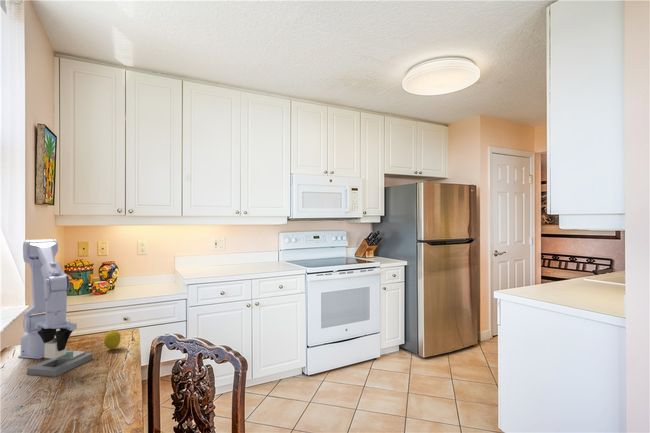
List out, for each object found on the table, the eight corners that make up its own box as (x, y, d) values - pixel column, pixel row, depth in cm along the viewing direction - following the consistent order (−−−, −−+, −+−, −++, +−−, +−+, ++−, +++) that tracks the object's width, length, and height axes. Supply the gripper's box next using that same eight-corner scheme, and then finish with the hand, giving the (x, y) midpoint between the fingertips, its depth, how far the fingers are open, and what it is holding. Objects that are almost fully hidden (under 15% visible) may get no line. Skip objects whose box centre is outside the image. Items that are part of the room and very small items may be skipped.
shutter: (56, 358, 123) (56, 351, 123) (71, 352, 129) (71, 345, 129) (71, 359, 122) (71, 352, 122) (85, 353, 128) (85, 346, 128)
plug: (55, 353, 121) (55, 336, 121) (66, 353, 121) (66, 336, 121) (44, 357, 117) (44, 340, 117) (55, 358, 117) (55, 341, 117)
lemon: (114, 352, 134) (115, 332, 134) (100, 352, 134) (101, 331, 134) (123, 347, 140) (123, 327, 140) (109, 347, 140) (110, 327, 140)
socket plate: (26, 374, 115) (27, 368, 115) (66, 356, 130) (66, 351, 130) (55, 376, 113) (55, 370, 113) (92, 358, 128) (92, 353, 128)
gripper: (26, 312, 116) (25, 352, 116) (64, 314, 114) (63, 355, 114) (46, 307, 123) (45, 345, 123) (82, 309, 121) (81, 347, 121)
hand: (55, 349), depth 119 cm, fingers closed on plug, 4 cm apart
